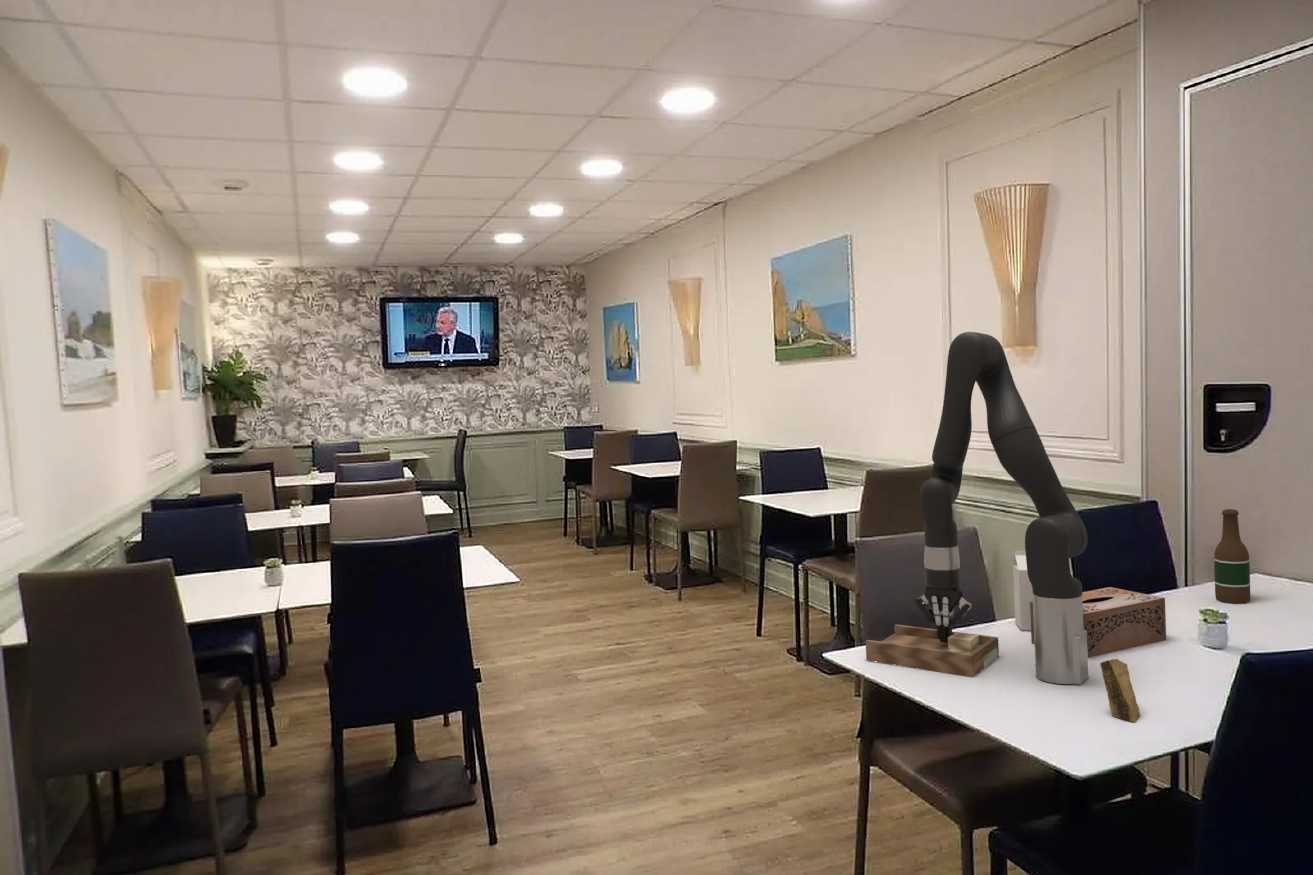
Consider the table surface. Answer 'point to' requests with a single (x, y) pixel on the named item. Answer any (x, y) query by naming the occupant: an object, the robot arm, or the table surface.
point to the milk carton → (1022, 591)
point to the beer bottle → (1231, 563)
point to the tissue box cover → (1119, 620)
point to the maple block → (963, 642)
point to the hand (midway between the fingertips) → (944, 641)
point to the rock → (1120, 690)
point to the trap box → (931, 651)
